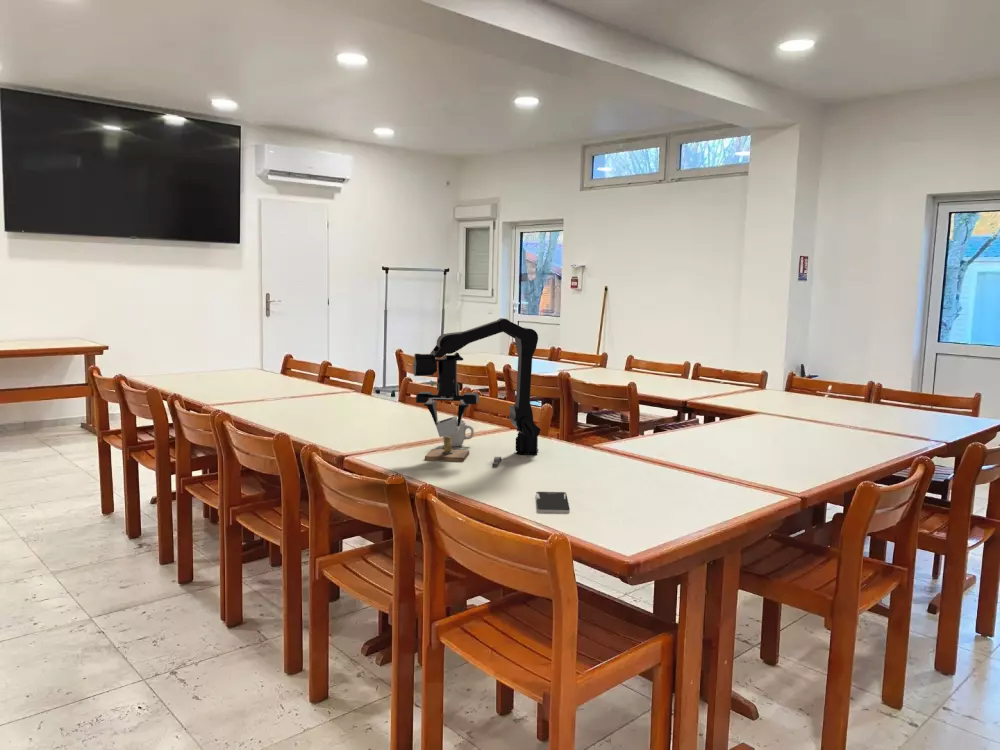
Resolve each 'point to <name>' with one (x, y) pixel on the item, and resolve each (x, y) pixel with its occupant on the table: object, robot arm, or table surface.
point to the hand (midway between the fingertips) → (447, 425)
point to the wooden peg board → (447, 453)
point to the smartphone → (552, 502)
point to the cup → (460, 435)
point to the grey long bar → (496, 461)
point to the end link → (447, 426)
